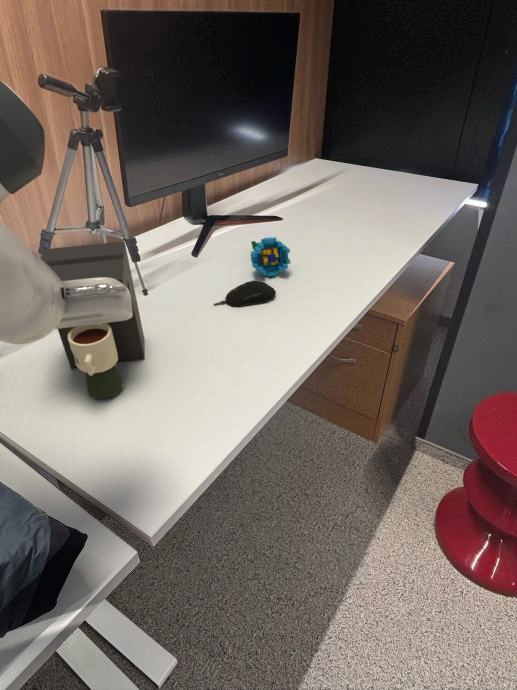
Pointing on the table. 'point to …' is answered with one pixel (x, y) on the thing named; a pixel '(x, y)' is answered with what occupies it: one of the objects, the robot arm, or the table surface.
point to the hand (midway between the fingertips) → (56, 323)
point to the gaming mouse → (249, 294)
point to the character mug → (96, 359)
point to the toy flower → (269, 256)
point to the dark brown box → (96, 264)
